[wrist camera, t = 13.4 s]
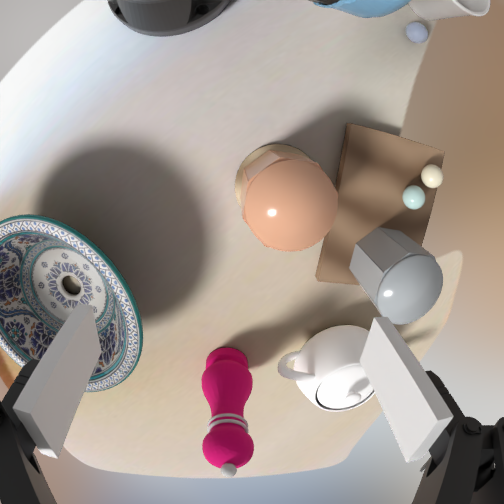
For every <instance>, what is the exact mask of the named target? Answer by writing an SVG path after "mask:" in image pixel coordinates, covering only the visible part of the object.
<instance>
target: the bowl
mask: <svg viewBox="0 0 504 504" xmlns="http://www.w3.org/2000/svg"><path fill="white" fill-rule="evenodd" d="M65 276H73V277H74V278H76V279H77V280H78V282H79V283H80V286H81V291H80V293H79V294H77V295H72V294H70V293H68V292H67V291H66V290H65V289H64V287H63V283H62V282H63V278H64V277H65ZM77 304H85V305H92V307H93V313H94V318H95V323H96V328H97V332H98V337H99V342H100V346H101V350H102V352H101V354H100V357H99V359H98V361H97V363H96V366H95V368H94V370H93V372H92V375H91V377H90V379H89V381H88V384H87V386H86V388H85V391H84V392H97V391H102V390H106V389H109V388H112V387H114V386H116V385H118V384H120V383H121V382H123V381H124V380H125V379H126V378H127V377H128V376H129V375H130V374H131V373H132V372H133V370H134V369H135V367H136V365H137V363H138V361H139V358H140V355H141V352H142V346H143V327H142V321H141V317H140V313H139V309H138V306H137V304H136V301H135V298H134V296H133V294H132V292H131V290H130V288H129V286H128V284H127V283H126V281H125V279H124V278H123V276H122V275H121V273H120V272H119V270H118V269H117V268H116V266H115V265H114V264H113V263H112V261H111V260H110V259H109V258H108V257H107V256H106V255H105V254H104V252H103V251H101V250H100V249H99V248H98V247H97V246H96V245H95V244H94V243H93V242H92V241H90V240H89V239H88V238H87V237H85V236H84V235H82V234H81V233H80V232H78V231H77V230H75V229H73V228H71V227H70V226H68V225H66V224H64V223H62V222H59V221H57V220H54V219H51V218H48V217H44V216H39V215H18V216H13V217H10V218H7V219H4V220H2V221H1V222H0V346H1V347H2V349H3V350H4V351H5V352H6V353H7V354H8V355H9V356H10V357H11V358H12V359H13V360H14V361H15V362H16V363H17V364H18V365H20V366H21V367H22V368H23V366H24V365H25V364H27V363H28V362H29V361H30V360H32V359H37V360H41V358H42V357H43V355H44V354H45V352H46V351H47V349H48V347H49V346H50V344H51V343H52V341H53V340H54V338H55V337H56V335H57V334H58V332H59V331H60V329H61V328H62V326H63V325H64V323H65V322H66V320H67V319H68V317H69V316H70V314H71V313H72V311H73V310H74V309H75V307H76V306H77Z"/></svg>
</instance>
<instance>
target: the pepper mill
mask: <svg viewBox="0 0 504 504" xmlns="http://www.w3.org/2000/svg"><path fill="white" fill-rule="evenodd" d="M202 389H203V392H204V395H205V397H206V399H207V401H208V403H209V405H210V408H211V413H212V418H211V419H210V420H209V421H208V424H207V426H208V428H207V432H208V434H207V435H206V437H205V438H204V440H203V445H202V446H203V453H204V456H205V458H206V459H207V461H208V462H209V463H211V464H212V465H214V466H216V467H218V468H221V473H222V474H223V475H224V476H225V477H232V476H234V475H235V474H236V472H237V469H236V468H239V467H241V466H243V465H245V464H246V463H247V462H249V460H250V459H251V457H252V455H253V451H254V444H253V440H252V438H251V437H250V435H249V434H248V423H247V421H246V420H245V419H244V417H243V411H244V406H245V403H246V401H247V400H248V398H249V396H250V394H251V390H252V376H251V373H250V372H249V370H248V362H247V358H246V356H245V355H244V354H243V353H242V352H240V351H239V350H237V349H234V348H220V349H217V350H215V351H213V352H211V353H210V354H209V356H208V357H207V360H206V370H205V371H204V373H203V375H202Z"/></svg>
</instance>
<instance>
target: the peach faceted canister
mask: <svg viewBox="0 0 504 504" xmlns="http://www.w3.org/2000/svg"><path fill="white" fill-rule="evenodd" d="M240 202H241V209H242V217H243V219H244V221H245V222H246V223H247V224H248V226H249V227H250V229H251V231H252V232H253V233H254V235H255V236H256V237H257V238H258V239H259V240H260V241H261V242H262V243H263V244H264V246H266V247H271V248H273V249H277V250H281V251H301V250H303V249H306V248H309V247H311V246H313V245H314V244H316V243H318V242H319V241H320V240H321V239H323V237H324V236H325V235H326V234H327V233H328V232H329V231H330V229H331V227H332V225H333V223H334V221H335V218H336V215H337V209H338V193H337V191H336V189H335V188H334V185H333V183H332V182H331V180H330V179H329V177H328V176H327V175H326V174H325V173H324V171H323V170H322V168H321V167H320V165H319V164H318V163H316V162H314V161H312V160H310V159H308V158H306V157H303V156H301V155H299V154H294V153H288V152H282V151H275V150H268V151H266V152H265V153H264V154H262V155H261V156H260V157H258V158H257V159H255V160H254V161H253V162H251V163H250V164H249V165H247V166H246V167H245V168H244V172H243V179H242V186H241V193H240Z"/></svg>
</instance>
